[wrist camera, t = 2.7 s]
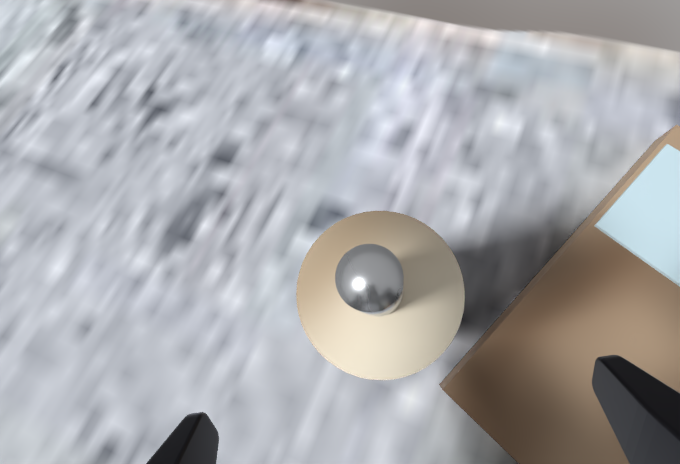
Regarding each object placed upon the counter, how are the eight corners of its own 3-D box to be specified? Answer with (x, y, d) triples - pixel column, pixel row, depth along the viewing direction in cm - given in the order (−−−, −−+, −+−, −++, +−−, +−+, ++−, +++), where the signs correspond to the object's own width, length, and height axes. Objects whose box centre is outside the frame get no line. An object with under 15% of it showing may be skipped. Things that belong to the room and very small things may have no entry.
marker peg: (448, 308, 18) (541, 270, 6) (393, 370, 18) (375, 458, 6) (387, 253, 19) (363, 131, 7) (333, 311, 19) (217, 283, 7)
